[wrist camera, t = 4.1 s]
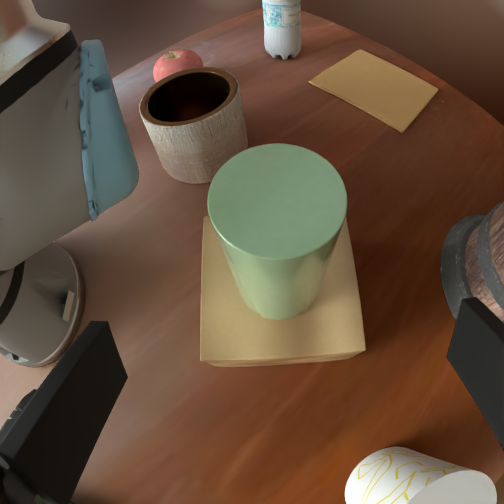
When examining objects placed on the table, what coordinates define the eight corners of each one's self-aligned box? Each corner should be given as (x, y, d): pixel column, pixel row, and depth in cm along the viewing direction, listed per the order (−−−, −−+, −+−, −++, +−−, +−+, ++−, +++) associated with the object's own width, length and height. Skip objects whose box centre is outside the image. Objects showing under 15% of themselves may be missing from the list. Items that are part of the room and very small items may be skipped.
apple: (161, 111, 43) (145, 69, 36) (161, 85, 46) (148, 47, 39) (210, 98, 43) (200, 54, 36) (205, 74, 46) (196, 34, 39)
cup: (404, 429, 23) (473, 444, 12) (438, 485, 20) (508, 516, 9) (329, 480, 22) (359, 531, 11) (368, 535, 19) (409, 594, 8)
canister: (219, 281, 24) (179, 201, 15) (275, 225, 26) (270, 125, 16) (282, 337, 22) (285, 290, 12) (337, 274, 24) (373, 189, 14)
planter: (155, 142, 40) (132, 88, 31) (231, 113, 41) (220, 56, 32) (174, 201, 35) (146, 143, 27) (262, 166, 36) (256, 103, 28)
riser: (215, 367, 27) (200, 360, 22) (216, 246, 33) (203, 215, 27) (349, 358, 27) (366, 350, 21) (334, 239, 32) (344, 206, 26)
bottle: (286, 66, 45) (281, -44, 27) (256, 55, 48) (245, -47, 29) (310, 53, 47) (311, -49, 29) (281, 42, 49) (275, -53, 31)
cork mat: (308, 83, 43) (308, 80, 42) (359, 51, 47) (359, 49, 47) (402, 133, 37) (403, 131, 37) (437, 91, 42) (438, 89, 41)
